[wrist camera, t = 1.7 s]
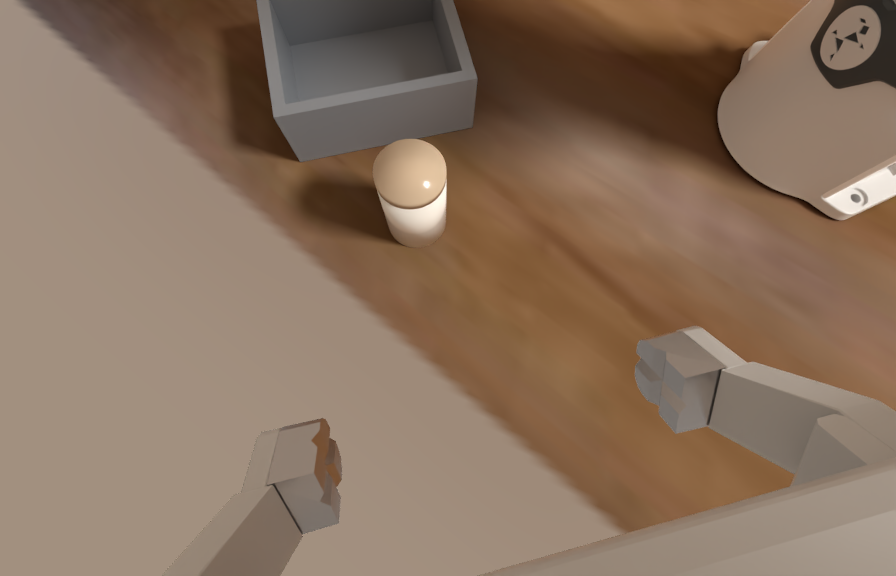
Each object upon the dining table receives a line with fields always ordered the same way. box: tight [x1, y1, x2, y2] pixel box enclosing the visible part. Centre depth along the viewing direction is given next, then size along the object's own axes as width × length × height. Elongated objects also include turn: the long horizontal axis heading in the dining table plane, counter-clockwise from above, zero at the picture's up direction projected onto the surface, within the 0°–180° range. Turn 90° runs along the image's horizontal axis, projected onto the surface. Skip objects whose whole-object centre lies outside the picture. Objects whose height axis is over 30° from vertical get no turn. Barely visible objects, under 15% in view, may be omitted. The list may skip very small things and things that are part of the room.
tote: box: [256, 0, 478, 162], centre depth 37 cm, size 16×13×6 cm
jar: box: [373, 139, 446, 248], centre depth 32 cm, size 5×5×8 cm
